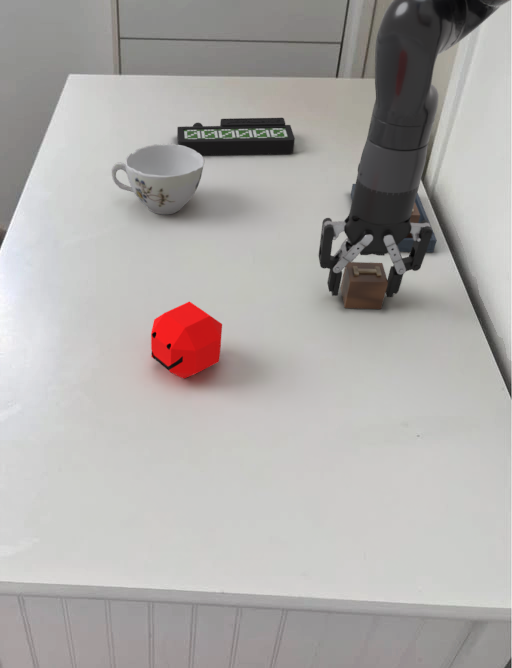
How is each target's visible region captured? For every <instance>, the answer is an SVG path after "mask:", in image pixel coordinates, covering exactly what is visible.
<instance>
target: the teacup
mask: <svg viewBox="0 0 512 668" xmlns="http://www.w3.org/2000/svg"><path fill="white" fill-rule="evenodd" d="M204 167H205V158H204V157H203V156H202V155H201V154H200V153H197V152H196V151H195V150H193V149H191V148H188V147H186V146H182V145H178V144H175V143H163V144H151V145H146V146H142V147H141V148H137V149H135V150H134V152H131V153H129V154H128V155H127V156H126V157H125V163H124V162H123V161H118V162H115V163H113V165H112V167H111V177H112V181H113V182H114V184H115V185H116V186H117V187H118V188H119V189H120V190H124V191H128V192H130V193H134V195H135V197H136V198H137V199H138V200H139V201H140V203H142V204H143V205H144V206H145V207H146V208H147V209H148V210H149V211H150V212H152V213H154V214H157V215H164V216H167V215H172V214H176V213H177V212H179V211H180V210H182V209H183V207H184V206H185V205H186V204H187V203H188V202H189V201H190V200H191V199H192V197H193V196H194V194H195V193H196V192H197V189H198V187H199V184H200V182H201V178H202V174H203V170H204ZM120 170H121V171H123V172H124V173H125V174H126V176H127V180H128V183H129V185H130V186H129V185H126V184H124V183H123V182H121V181H119V179H118V177H117V172H118V171H120Z"/></svg>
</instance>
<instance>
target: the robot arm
mask: <svg viewBox="0 0 512 668" xmlns="http://www.w3.org/2000/svg"><path fill="white" fill-rule="evenodd" d="M510 1H511V0H391V2H390V3H389V4H388V6H387V7H386V9H385V11H384V13H383V16H382V18H381V20H380V24H379V26H378V30H377V34H376V40H375V47H374V48H375V50H374V52H375V53H374V89H375V90H374V91H375V100H374V104H373V108H372V112H371V117H370V123H369V128H368V132H367V135H366V139H365V143H364V146H363V149H362V152H361V156H360V161H359V163H358V166H357V175H356V180H355V184H356V185H355V190H354V195H353V199H351V204H350V205H351V206H350V209H349V213H348V216H347V217H346V218H345V219H344V221H343V220H342V221H341V220H340V221H339V220H338V221H333V219H332V218H330V217H325V218H324V219H323V220H322V223H321V233H320V240H319V249H318V261H319V267H320V268H321V269H328V270H329V271H328V272H329V273H328V276H327V277H328V278H327V283H326V284H327V288H328V292H329V293H331V296H332V297H339V292H340V288H341V283H342V278H343V271H344V269H345V266H346V265H347V264H348V263H349V262H354V260H355V259H356V258H357V257H358V256H359V255H360V256H369V255H375V256H382V257H383V256H385V254H388V255H389V257H390V259H391V262H392V265H390V268H389V272H388V276H387V281H388V285H387V289H386V292H385V296H386V298H393V297H394V294H395V295H397V294H398V292H399V291H400V288H401V284H402V280H403V277H404V275H405V274H406V272H408V271H409V272H410V271H414V272H417V271H419V270H421V267H422V264H423V263H424V259H425V256H426V253H427V252H426V251H427V248H428V245H429V242H430V239H431V236H432V233H433V232H434V231H433V232H432V230H433V228H432V229H431V227H432V225H431V223H430V224H429V222H430V221H429V222H428V221H427V220H423V221H421V222H420V223H410V217H411V214H412V211H413V207H414V203H415V199H416V196H417V192H419V188H420V185H421V181H422V177H423V173H424V170H425V165H426V161H427V156H428V147H429V142H430V138H431V135H432V130H433V128H434V123H435V120H436V115H437V112H438V107H439V101H440V100H439V99H440V98H439V97H440V95H439V91H438V89H437V88H436V86H435V85H434V84H433V83H432V82H433V77H434V69H435V65H436V61H437V58H438V56H439V55H442V54H443V53H445V52H446V51H448V50H449V49H451V48H453V47H454V46H455V45H457V44H459V42H461V41H462V40H464V39H465V38H466V37H467V36H468V35H470V34H471V33H472V32H473V31H474V30H476V29H477V28H479V26H480V25H481V24H483V23H484V22H485V21H486V20H487V19H488V18H489V17H492V15H493V14H494V13H495V12H497V10H499V9H500V8H501V7H502V6H503V5H505V4H507V3H508V2H510ZM430 225H431V226H430ZM343 232H344V234H345V236H346V239H345V240H344V241H343V242H342V243H341V245H340V247H339V249H338V250H337V251H336V252H335V254H334V255H332V249H333V242H334V241H336V240H337V239H338V238H339V236H340V234H341V233H343ZM409 233H412V237H413V240H414V242H413V245H412V248H411V251H410V252H409V254H408V256H405V257H402V254H401V252H400V251H399V249H398V246H397V245H398V244H399V243H400V242H401V241H402V240H403V239H404V238H405V237H407V236H408V235H409Z"/></svg>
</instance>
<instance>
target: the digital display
mask: <svg viewBox="0 0 512 668" xmlns="http://www.w3.org/2000/svg"><path fill="white" fill-rule="evenodd" d="M176 127H177V128H176V129H177V132H176V133H177V134H176V135H177V136H176V137H177V139H176V140H177V145H182V146H186V147H188V148H191V149H193V150H195V151H196V152H197V153H200V154H201V155H202V157H203V156H204V157H205V156H207V157H208V156H257V155H259V156H261V155H264V156H265V155H292V154H293V153H294V146H295V140H296V138H295V135H294V131H293V129H292V126H291V124H286V121H285V118H284V117H243V118H242V117H240V118H239V117H238V118H236V117H235V118H221V119H220V125H204V124H202V123H201V122H195V123H194V124H193V125H192V126H176Z"/></svg>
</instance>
